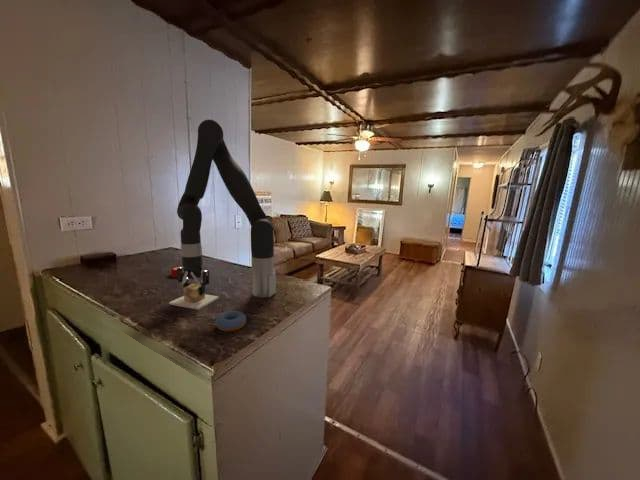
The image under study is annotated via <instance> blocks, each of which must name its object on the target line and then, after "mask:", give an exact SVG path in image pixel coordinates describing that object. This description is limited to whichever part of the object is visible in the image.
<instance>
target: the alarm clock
mask: <svg viewBox="0 0 640 480" xmlns="http://www.w3.org/2000/svg"><path fill="white" fill-rule="evenodd" d="M179 267H183V266H182V264H181V265H175V266H172V267H171V268H170V269H169V268H167V271H170V272H171V273H170V275H169V276H170V277H171V278H178V274H177V268H179ZM184 274H185V273H184ZM181 279H182V276H181Z"/></svg>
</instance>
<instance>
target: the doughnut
mask: <svg viewBox="0 0 640 480" xmlns="http://www.w3.org/2000/svg"><path fill="white" fill-rule="evenodd" d="M246 323H247V317H246V315H245V313H243V312H242V311H239V310H229V311H224V312H221V313H220V314H219V315H218V316H216V318H215V327H216V328H217V329H218V330H219V331H222V332H226V333H227V332H234V331H238V330H240V329H241V330H242V328H243V327H244V326H245V325H246Z"/></svg>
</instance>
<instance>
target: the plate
mask: <svg viewBox="0 0 640 480" xmlns="http://www.w3.org/2000/svg"><path fill="white" fill-rule="evenodd" d="M219 298H220V297H219V296H218V295H212V294H206V293H205V298H204V299H202V300H200V301H198V302H196V303H193V302H188V301H184V295H182V296H179V297H178V298H176V299H173V300H171V301H169V303H168V304H169V305H172V306H175V307H182V308H187V309H192V310H197V311H198V310H200V309H203V308H204V307H205V306H207V305H210V304H211V303H213V302H215V301H216V300H219Z"/></svg>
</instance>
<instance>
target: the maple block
mask: <svg viewBox="0 0 640 480" xmlns="http://www.w3.org/2000/svg"><path fill="white" fill-rule="evenodd" d="M183 289H184V290H183V296H184V301H188V302H193V303H196V302H198V301H200V300H202V299H204V298H205V294H206V292H205V293H204V295H202V296H200V295H199V285H198V283H191V284H189V286H187V287H184V288H183Z"/></svg>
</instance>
